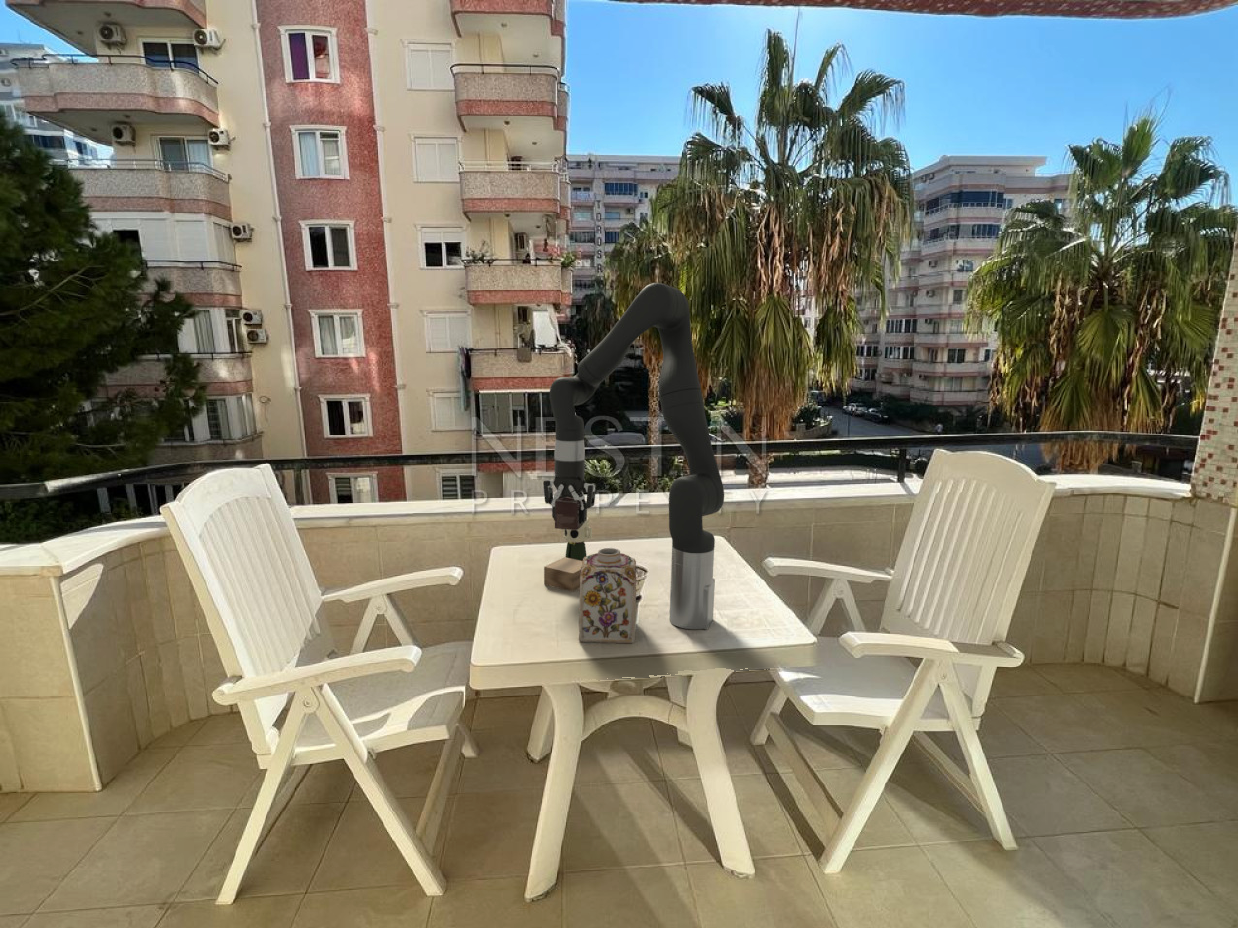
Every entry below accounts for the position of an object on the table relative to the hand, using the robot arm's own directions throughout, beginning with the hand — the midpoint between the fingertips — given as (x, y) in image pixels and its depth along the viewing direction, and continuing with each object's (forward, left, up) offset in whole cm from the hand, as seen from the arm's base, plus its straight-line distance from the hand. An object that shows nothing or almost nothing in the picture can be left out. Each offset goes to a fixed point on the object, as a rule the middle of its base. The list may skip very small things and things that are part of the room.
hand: (569, 521), depth 152 cm
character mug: (+5, -15, -16) cm, 23 cm away
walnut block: (0, 0, -17) cm, 17 cm away
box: (0, 0, -1) cm, 1 cm away
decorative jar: (-20, +22, -17) cm, 34 cm away
